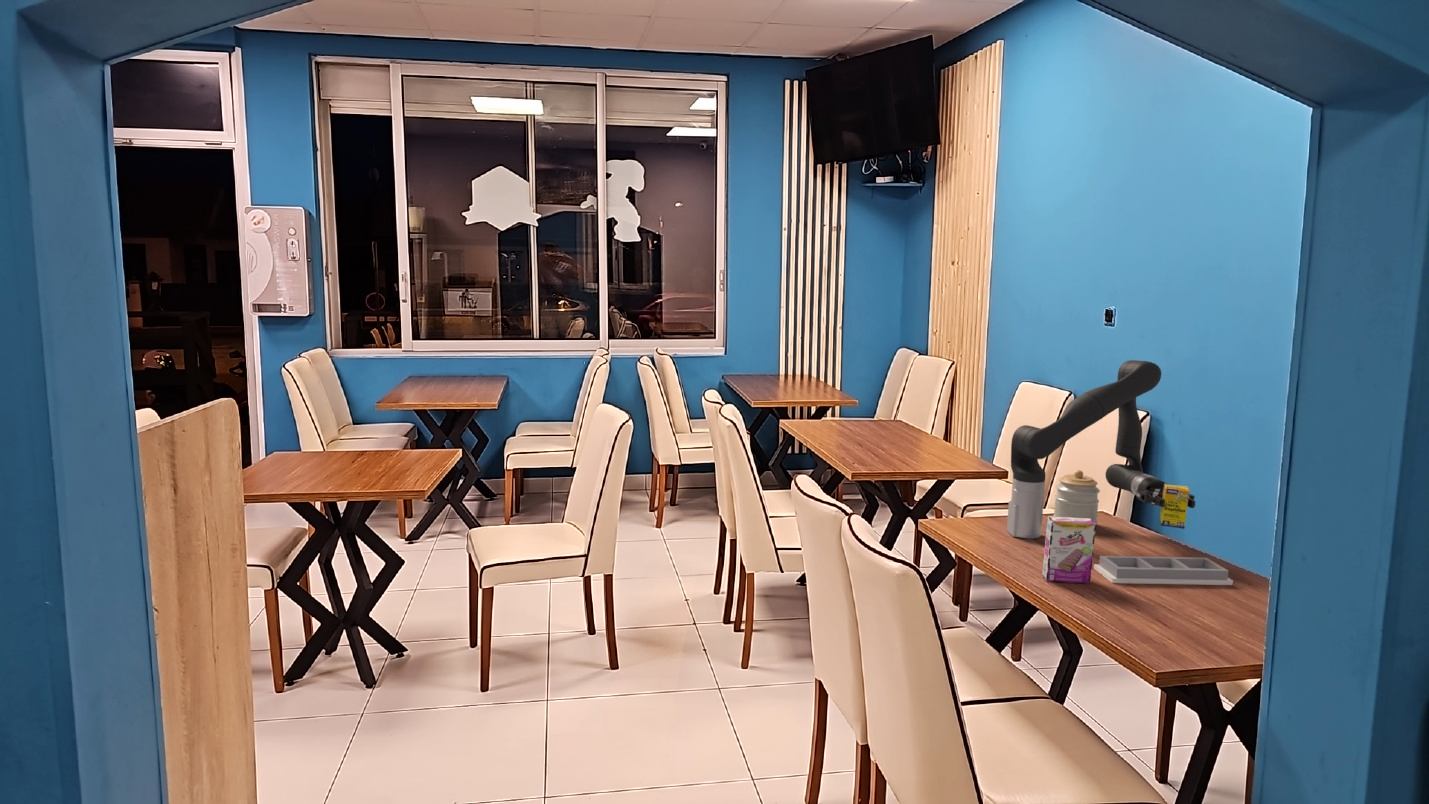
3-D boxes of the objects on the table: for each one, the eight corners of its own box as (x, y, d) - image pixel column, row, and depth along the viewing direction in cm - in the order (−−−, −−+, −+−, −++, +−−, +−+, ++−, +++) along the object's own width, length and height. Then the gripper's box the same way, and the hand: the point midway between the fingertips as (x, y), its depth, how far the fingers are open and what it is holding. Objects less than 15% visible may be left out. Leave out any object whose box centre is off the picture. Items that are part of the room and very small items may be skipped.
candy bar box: (1046, 582, 230) (1051, 520, 228) (1041, 575, 235) (1046, 515, 233) (1091, 584, 229) (1096, 522, 227) (1085, 578, 234) (1090, 517, 232)
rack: (1112, 583, 231) (1113, 569, 230) (1093, 568, 242) (1094, 555, 241) (1232, 585, 231) (1234, 571, 230) (1208, 570, 242) (1210, 557, 241)
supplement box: (1160, 526, 247) (1165, 487, 245) (1159, 520, 252) (1163, 483, 251) (1185, 529, 245) (1189, 490, 243) (1182, 523, 250) (1187, 485, 248)
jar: (1092, 533, 275) (1097, 477, 272) (1048, 525, 282) (1053, 471, 279) (1099, 523, 286) (1104, 469, 283) (1057, 516, 292) (1061, 463, 290)
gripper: (1126, 475, 261) (1154, 490, 245) (1175, 477, 261) (1206, 491, 245) (1124, 500, 262) (1151, 516, 246) (1172, 502, 262) (1202, 518, 246)
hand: (1178, 504), depth 246 cm, fingers closed on supplement box, 7 cm apart
